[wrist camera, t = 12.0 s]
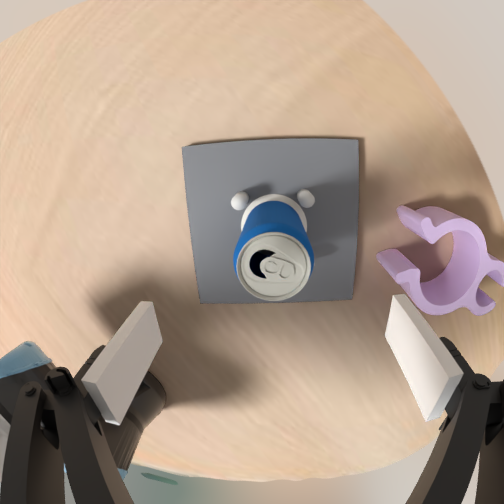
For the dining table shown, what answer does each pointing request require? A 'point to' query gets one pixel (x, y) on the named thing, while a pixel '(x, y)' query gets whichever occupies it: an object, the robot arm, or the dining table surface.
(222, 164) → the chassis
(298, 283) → the beverage can
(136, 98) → the dining table surface
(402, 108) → the dining table surface
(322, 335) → the dining table surface
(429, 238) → the clip
